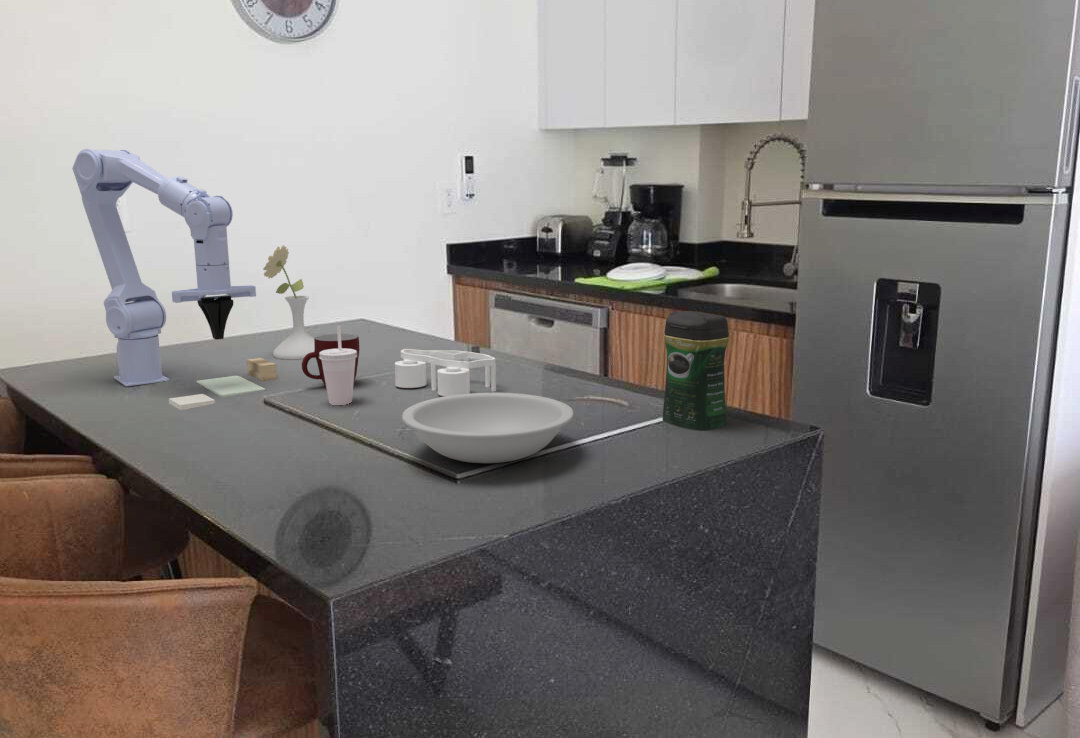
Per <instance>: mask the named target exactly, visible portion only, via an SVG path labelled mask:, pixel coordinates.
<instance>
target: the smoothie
mask: <svg viewBox="0 0 1080 738" xmlns="http://www.w3.org/2000/svg"><path fill="white" fill-rule="evenodd" d="M341 327H342V326H341V325H337V326H336V328H337V329H336V330H337V334H338V349H328V350H323V351H321V352H320V353H319V355H320V357H319V359H321V360H322V366H323V371H324V377H325V382H326V386H325V388H326V393H327V398H328V404H329V403H330V404H332V405H343V406H347V405H346V404H348V405H350V404H349V403H351V402H352V403H353V394H354V384H355V383H354V382H355V380H354V370H355V358H356V357H357V351H356V350H354V349H346V348H342V346H341V334H342V331H341V330H342V329H341ZM352 403H351V404H352ZM330 404H329V405H330ZM332 405H331V406H332Z"/></svg>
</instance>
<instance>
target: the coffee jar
mask: <svg viewBox="0 0 1080 738" xmlns="http://www.w3.org/2000/svg"><path fill="white" fill-rule="evenodd" d="M665 320H666V321H665V327H664V332H663V333H664V335H663V337H664V343H665V348H666V372H665V385H664V386H665V389H664V397H663V407H662V408H663V409H662V421H663V422H664V423H666V424H669V425H671V426H675V427H678V428H682V429H686V430H690V431H699V432H700V431H710V430H714V429H717V428H722V427H723V426H725V425H727V405H726V404H727V403H726V390H725V389H726V388H725V385H726V384H725V358H726V350H727V347H728V343H729V341H730V338H729V336H730V334H729V324H728V323H729V321H728V319H727V318H726V317H725V316H724V315H721V314H713V313H708V312H703V311H695V310H694V311H693V310H685V311H683V310H682V311H677V312H676V311H674V312H670V313H669V314H668V316H667V317H666V319H665Z"/></svg>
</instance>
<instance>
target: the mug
mask: <svg viewBox="0 0 1080 738" xmlns="http://www.w3.org/2000/svg"><path fill="white" fill-rule="evenodd" d="M313 338H314V352H311V353H308V354H307V355H306V356H305V357H304V359H302V362H301V370H302V372H303V374H304V375H305V376H306V377H308V378H310V379H312V380H321V381H322V383H323V384H324V386H325V387H326V382H325V377H324V371H323V366H322V360H321V359H319V357H320V355H319V353H320V352H321V351H323V350H328V349H338V333H329V334H327V333H326V334H322V335H321V334H320V335H317V336H315V337H313ZM341 346H342V348H346V349H354V350H356V351H357V357H356V358H355V370H354V381H355V380H356V377H357V373H358V372H357V371H358V364H359V357H360V337H359V335H357V334H352V333H341ZM311 359H316V363H317V367H318V371H319V372H318V373H319V374H312V373H311V372H310V371H309V369H308V364H309V362H310V360H311Z"/></svg>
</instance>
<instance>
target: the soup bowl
mask: <svg viewBox="0 0 1080 738" xmlns="http://www.w3.org/2000/svg"><path fill="white" fill-rule="evenodd" d="M574 413H575V412H574V410H573V408H572V407H571V406H569V405H568V404H567V403H564V402H562V401H559V400H557V399H554V398H550V397H547V396H546V397H545V396H540V395H535V394H534V395H533V394H528V393H527V394H526V393H517V392H515V393H514V392H476V393H475V392H472V393H471V392H470V393H469V394H459V395H451V396H439V397H436V398H431V399H427V400H424V401H420V402H417V403H415V404H413V405H411V406H409V407H408V408H406V409H405V410H404V411H403V413H402V415H401V418H402V421H403V423H404V424H405V425H407V426H408V427H409V428H411V429H413V430H415V431H416V433H417V434H418V436H419V437H420V439H421V440H422V441H423V442H424V443H425V444H426V445H427V446H429V448H430V449H432V450H433V451H435V452H436V453H438V454H440V455H441V456H444V457H445V458H448V459H452V460H456V461H460V462H465V463H471V464H475V463H476V464H500V463H507V462H513V461H517V460H521V459H525V458H527V457H530V456H532V455H534V454H537V453H538V452H539V451H541V450H542V449H544V448H545V447H547V446H548V445H549V444H550V443H551V442H552V441H553V439H554V438H555V437H556V436H557V434H558V433H559V431H560V430H561V428H562V427H563V426H565V425H567V424H569V423H570V422H571V421H572V420H573V418H574V415H575V414H574Z"/></svg>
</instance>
